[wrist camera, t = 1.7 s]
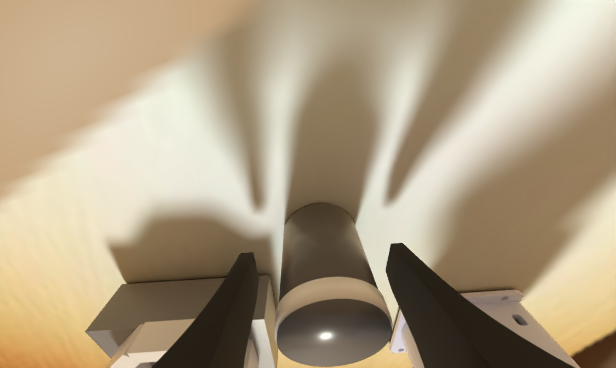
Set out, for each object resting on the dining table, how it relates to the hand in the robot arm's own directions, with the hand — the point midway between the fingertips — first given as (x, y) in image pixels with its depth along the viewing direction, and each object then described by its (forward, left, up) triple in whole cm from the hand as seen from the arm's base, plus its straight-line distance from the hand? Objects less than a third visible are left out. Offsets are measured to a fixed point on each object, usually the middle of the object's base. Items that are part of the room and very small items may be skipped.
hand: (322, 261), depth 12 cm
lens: (0, 0, -2) cm, 2 cm away
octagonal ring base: (+8, +7, -2) cm, 11 cm away
